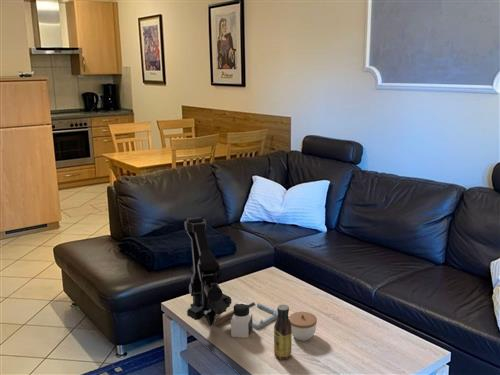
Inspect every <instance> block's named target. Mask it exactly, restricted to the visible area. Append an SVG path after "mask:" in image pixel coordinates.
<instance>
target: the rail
mask: <svg viewBox="0 0 500 375" xmlns="http://www.w3.org/2000/svg"><path fill="white" fill-rule="evenodd" d="M255 304H256V303H255V301H254V302H251V303H249V304H248V305H249V308H250V307H252V306H253V305H255ZM213 325H217V324H216V321H214V322H213Z"/></svg>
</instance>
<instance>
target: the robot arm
mask: <svg viewBox="0 0 500 375" xmlns="http://www.w3.org/2000/svg"><path fill="white" fill-rule="evenodd" d="M184 229H185V231H186V234H187V235H188V236H189V237H190V242H191V253H192V266H193V273H192V275H191V277H190V283H189V286H188V291H189V294H190V296H191V297H192V303H191V304H190V308H188V309H187V310H186V315H187V317H189V318H191V319H193V320H195V321H198V320H200V319H202V318H205V320H206V322H207V324H208V326H209V327H212V326H213V325H214V322H215V320H216V319H215V318H216V315H218V316H220V315H222V314H223V313H226V312H227V309H228V308H229V307H231V306H230V305H231V304H232V298H231V296H229V295H227V294H224V293H223V290H222V289H221V287H220V285H219V283H218V280H221V279H222V278H221V276H222V271H221V267H220V263H219V262H218V261H217V260H216V257H215V254H213V253H212V252H211V250H210V244H209V240H208V237H207V233H206V230H207V220H206V219H203V218H202V216H197V217H196V216H195V217H189V218H187V217H186V220H185V221H184Z"/></svg>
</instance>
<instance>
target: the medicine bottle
mask: <svg viewBox="0 0 500 375" xmlns="http://www.w3.org/2000/svg"><path fill="white" fill-rule="evenodd" d="M233 310H234V315H233V317H232V318H230V333H231V334H230V336H231V337H232V338H244V339H249V338H250V336H251V334H252V331H253V328H254V327H253V325H252V322H253V312H250V307H249V304H248V303H246V302H237V303H235V304H234V305H233Z"/></svg>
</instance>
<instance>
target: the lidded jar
mask: <svg viewBox="0 0 500 375" xmlns="http://www.w3.org/2000/svg"><path fill="white" fill-rule="evenodd" d="M288 317H289V318H288V319H289V320H290V322H291V330H292V337H294V339H296V340H298V341H301V342H305V341H309V340H310V339H311V338H312V337H313V336H314V335H315V333H316V330H317V324H318V323H317V321H318V319H317V317H316V315H315V314H313V313H312V312H308V311H296V312H293V313H290V315H288Z"/></svg>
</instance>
